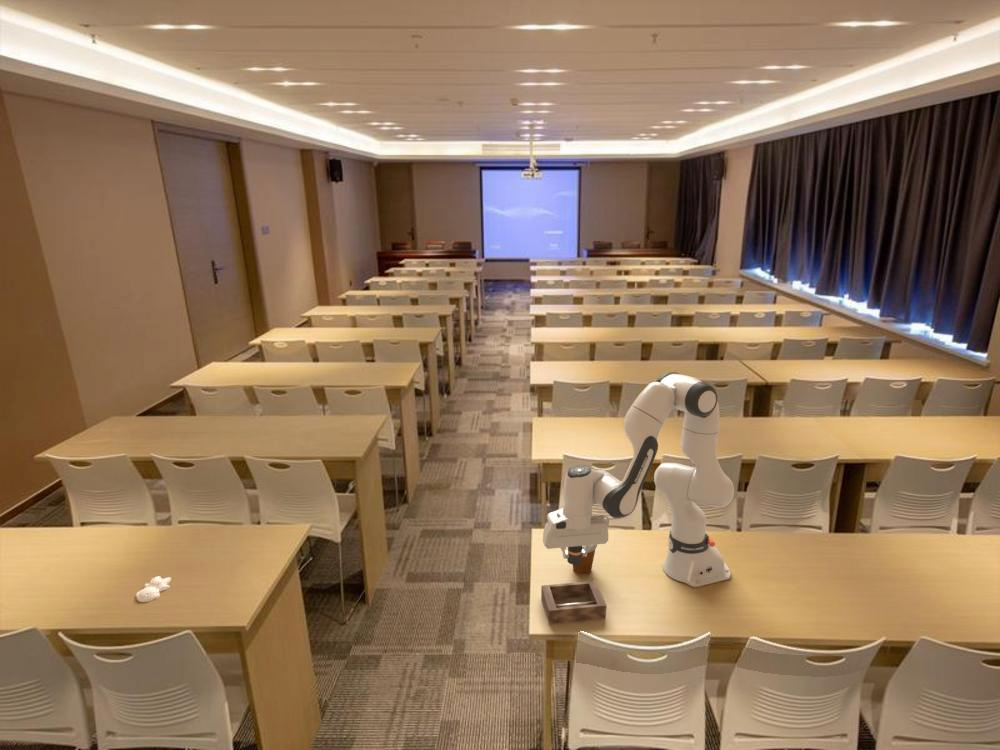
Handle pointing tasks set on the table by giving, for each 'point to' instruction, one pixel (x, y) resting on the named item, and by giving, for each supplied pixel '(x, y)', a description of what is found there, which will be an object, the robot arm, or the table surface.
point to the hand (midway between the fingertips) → (574, 556)
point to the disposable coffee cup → (585, 562)
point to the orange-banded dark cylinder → (575, 555)
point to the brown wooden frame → (573, 612)
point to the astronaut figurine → (153, 589)
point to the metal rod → (575, 604)
